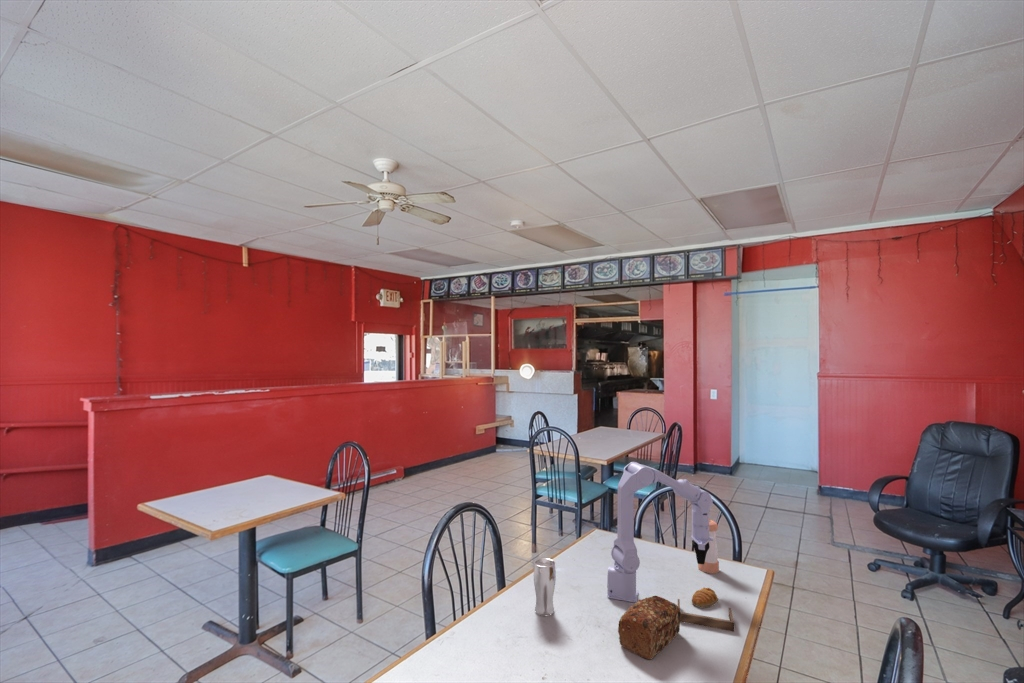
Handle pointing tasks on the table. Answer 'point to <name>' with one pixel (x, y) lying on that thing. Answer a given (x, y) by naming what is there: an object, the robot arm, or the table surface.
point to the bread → (649, 626)
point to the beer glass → (544, 585)
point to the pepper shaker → (711, 552)
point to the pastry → (704, 598)
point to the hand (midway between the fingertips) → (700, 563)
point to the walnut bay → (708, 620)
